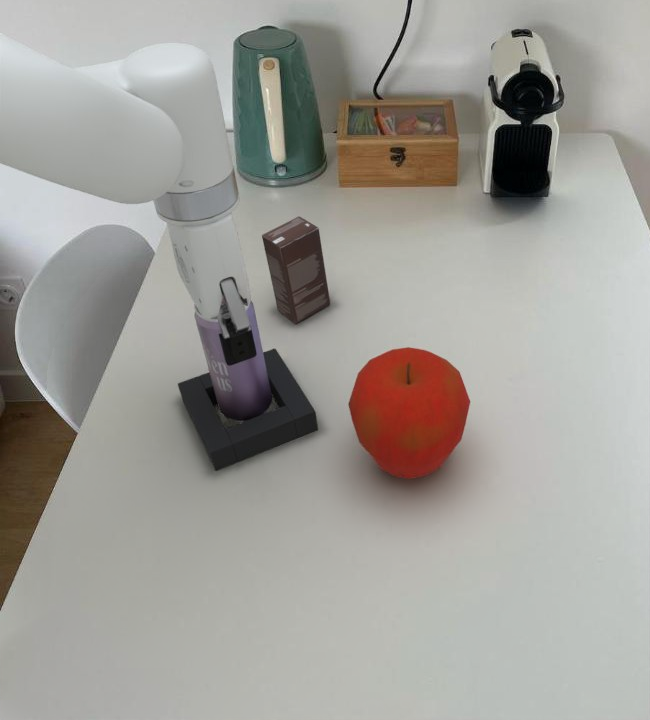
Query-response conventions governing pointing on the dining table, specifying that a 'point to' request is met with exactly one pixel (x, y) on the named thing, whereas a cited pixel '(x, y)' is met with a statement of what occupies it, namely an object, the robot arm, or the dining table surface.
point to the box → (297, 268)
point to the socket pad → (253, 433)
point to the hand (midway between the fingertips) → (230, 339)
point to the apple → (409, 411)
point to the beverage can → (235, 371)
